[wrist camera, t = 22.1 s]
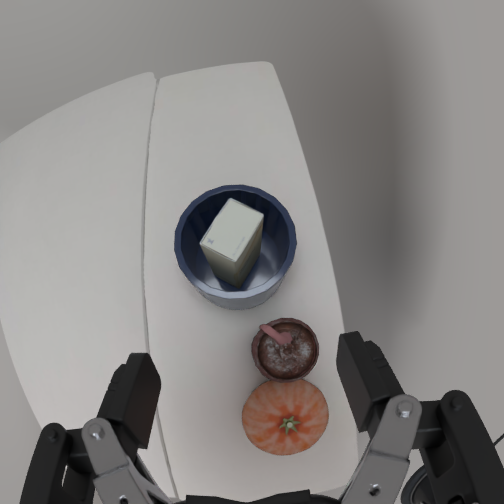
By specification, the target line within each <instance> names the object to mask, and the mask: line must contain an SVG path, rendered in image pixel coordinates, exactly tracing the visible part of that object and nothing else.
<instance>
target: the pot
mask: <svg viewBox="0 0 504 504" xmlns="http://www.w3.org/2000/svg"><path fill="white" fill-rule="evenodd" d="M230 198H232V199H234V200H236V201H238V202H240V203H242V204H244V205H246V206H248V207H250V208H252V209H254V210H256V211H258V212H260V213H262V214H263V215H264V218H263V229H262V240H261V250H260V255H259V257H258V259H257V260H256V262H255V264H254V265H253V267H252V269H251V271H250V272H249V274H248V276H247V277H246V279H245V281H244V282H243V284H242V286H241V287H240V289H238V288H236V287H234V286H232V285H231V284H229V283H227V282H225V281H223V280H222V279H220V278H218V277H217V276H215V275H214V274H213V272H212V269H211V267H210V265H209V263H208V261H207V259H206V256H205V254H204V252H203V250H202V248H201V246H200V241H201V240H202V238H203V237H204V235H205V233H206V232H207V230H208V229H209V227H210V226H211V224H212V223H213V221H214V219H215V218H216V216H217V215H218V214H219V212H220V211H221V209H222V208H223V206H224V205H225V204H226V202H227V201H228V200H229V199H230ZM296 245H297V241H296V233H295V226H294V223H293V221H292V219H291V217H290V215H289V213H288V211H287V210H286V208H285V207H284V206H283V205H282V204H281V203H280V202H279V201H278V200H277V199H276V198H275V197H274V196H272V195H270V194H268V193H266V192H265V191H263V190H261V189H259V188H255V187H251V186H246V185H225V186H221V187H218V188H215V189H212V190H209V191H207V192H205V193H204V194H202V195H201V196H199V197H198V198H196V199H195V200H194V201H192V202H191V204H190V205H189V206H188V207H187V209H186V210H185V211H184V212H183V214H182V215H181V217H180V220H179V222H178V225H177V228H176V230H175V241H174V251H175V254H176V258H177V261H178V264H179V267H180V269H181V270H182V272H183V273H184V274H185V276H186V277H187V278H188V280H189V281H190V282H191V283H192V284H193V286H194V287H195V288H196V289H197V290H198V291H199V292H200V293H201V294H202V295H203V296H204V297H205V298H206V299H208V300H209V301H211V302H212V303H214V304H215V305H217V306H220V307H223V308H226V309H231V310H244V309H250V308H253V307H256V306H258V305H260V304H262V303H264V302H265V301H267V300H268V299H269V298H270V297H271V296H272V295H274V293H275V292H276V291H277V289H278V287H279V286H280V284H281V283H282V281H283V279H284V277H285V275H286V273H287V272H288V270H289V268H290V266H291V264H292V262H293V259H294V254H295V249H296Z"/></svg>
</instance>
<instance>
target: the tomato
mask: <svg viewBox="0 0 504 504" xmlns="http://www.w3.org/2000/svg"><path fill="white" fill-rule="evenodd" d="M328 417H329V413H328V406H327V403H326V400H325V398H324V396H323V394H322V392H321V391H320V390H319V389H318V388H316V387H315V386H314V385H312V384H311V383H309V382H307V381H305V380H303V379H300V380H297V381H294V382H291V383H279V382H276V381H272V380H270V381H267V382H265V383H263V384H262V385H260V386H259V387H258V388H257V389H255V390H254V392H253V393H252V394H251V395H250V396H249V398H248V399H247V401H246V403H245V405H244V408H243V412H242V422H243V427H244V430H245V433H246V435H247V437H248V439H249V440H250V441H251V442H252V443H253V444H254V445H255V446H256V447H258V448H260V449H261V450H263V451H265V452H268V453H271V454H275V455H291V454H296V453H299V452H302V451H304V450H306V449H308V448H310V447H311V446H312V445H313V444H315V443H316V442H317V441H318V440H319V438H320V437H321V436H322V434H323V432H324V431H325V429H326V426H327V423H328Z"/></svg>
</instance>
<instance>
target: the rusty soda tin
mask: <svg viewBox="0 0 504 504" xmlns="http://www.w3.org/2000/svg"><path fill="white" fill-rule="evenodd" d="M260 329H261V330H260V331H259V332H258V333H257V335H256V336H255V337H254V339H253V342H252V355H253V358H254V362H255V365H256V367H257V368H258V369H259V371H260V372H261V373H262V374H263V375H264V376H266V377H267V378H269V379H270V380H272V381H276V382H279V383H291V382H294V381H297V380H300V379H302V378H303V377H305V376H306V375H307V374H309V373H310V371H311V370H312V369H313V367H314V366H315V364H316V362H317V359H318V355H319V344H318V341H317V338H316V335H315V333H314V332H313V331H312V329H311V328H310V327H309V326H308V325H306V324H305V323H303V322H302V321H300V320H296V319H293V318H280V319H277V320H274V321H271V322H270V323H268V324H267V325H266V324H262V325H260Z"/></svg>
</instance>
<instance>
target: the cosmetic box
mask: <svg viewBox="0 0 504 504" xmlns="http://www.w3.org/2000/svg"><path fill="white" fill-rule="evenodd" d="M263 218H264V215H263V214H262V213H260V212H258V211H256V210H254V209H252V208H250V207H248V206H246V205H244V204H242V203H240V202H238V201H236V200H234V199H232V198H230V199H229V200H228V201H227V202H226V204H225V205H224V206H223V208H222V209H221V211H220V212H219V214H218V215H217V216H216V218H215V219H214V221H213V223H212V224H211V226H210V227H209V229H208V230H207V232H206V233H205V235H204V237H203V238H202V240H201V241H200V246H201V248H202V250H203V252H204V254H205V256H206V259H207V261H208V263H209V265H210V267H211V269H212V272H213V274H214V275H215V276H217V277H218V278H220V279H222V280H223V281H225V282H227V283H229V284H231V285H232V286H234V287H236V288H238V289H240V287H241V286H242V284H243V282H244V281H245V279H246V277H247V276H248V274H249V272H250V271H251V269H252V267H253V265H254V264H255V262H256V260H257V259H258V257H259V255H260V250H261V240H262V229H263Z"/></svg>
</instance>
